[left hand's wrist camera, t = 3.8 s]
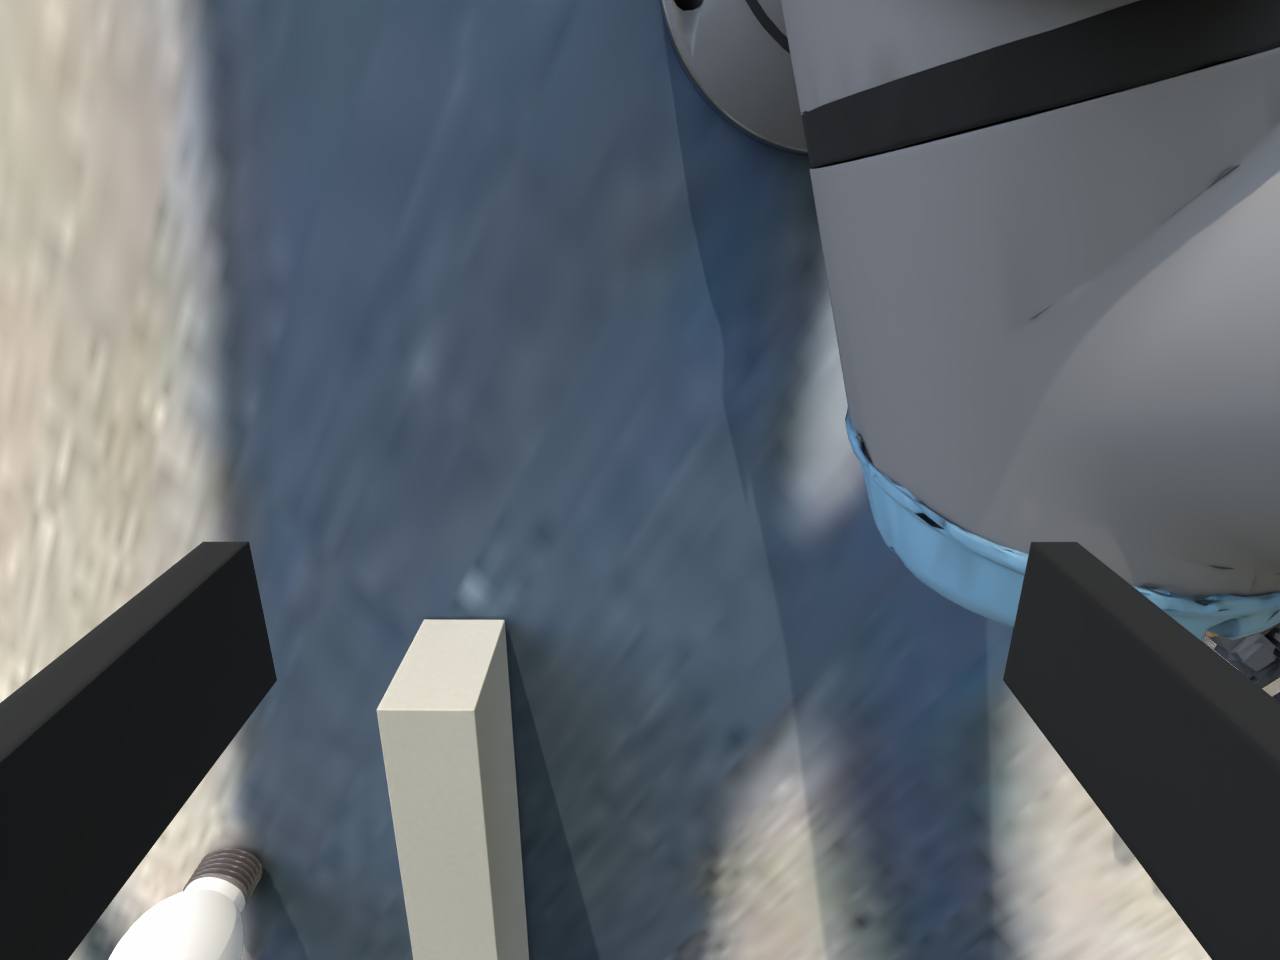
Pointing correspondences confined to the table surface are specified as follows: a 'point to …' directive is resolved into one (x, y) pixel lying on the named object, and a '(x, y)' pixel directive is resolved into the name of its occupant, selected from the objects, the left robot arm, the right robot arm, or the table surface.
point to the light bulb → (197, 914)
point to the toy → (1253, 655)
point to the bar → (456, 793)
